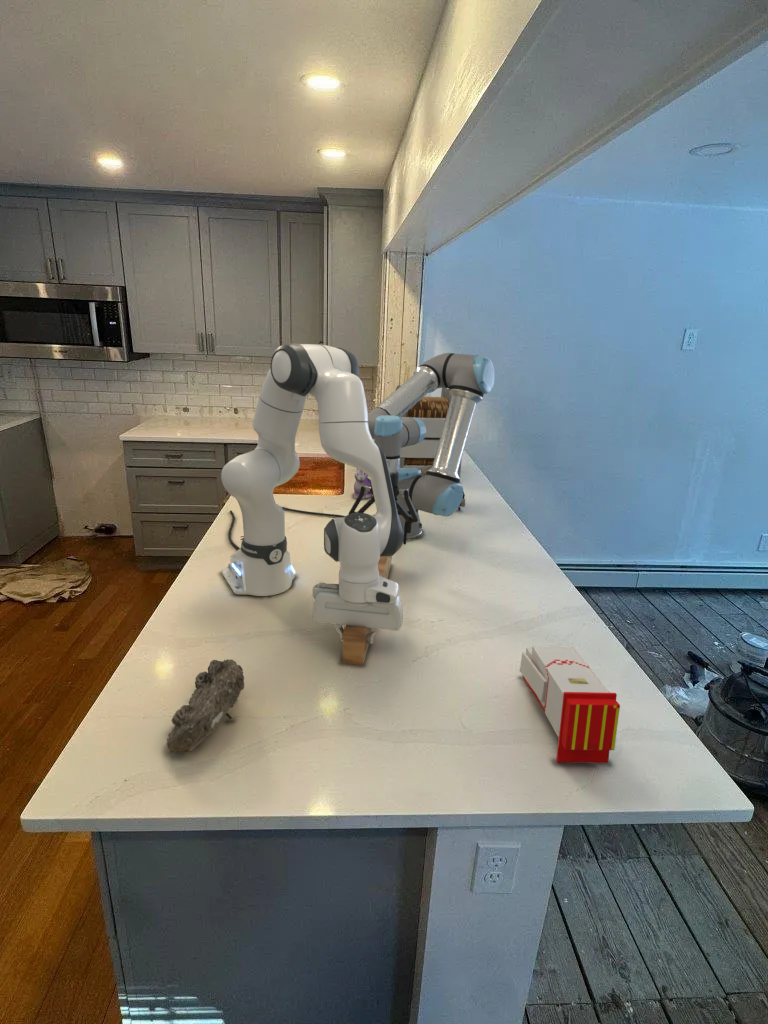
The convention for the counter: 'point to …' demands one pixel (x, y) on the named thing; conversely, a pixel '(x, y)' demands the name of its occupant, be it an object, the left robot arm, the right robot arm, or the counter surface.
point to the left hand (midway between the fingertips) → (357, 640)
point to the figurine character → (462, 502)
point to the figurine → (361, 483)
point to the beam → (361, 628)
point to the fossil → (206, 705)
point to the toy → (572, 703)
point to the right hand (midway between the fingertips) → (382, 540)
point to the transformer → (427, 430)
